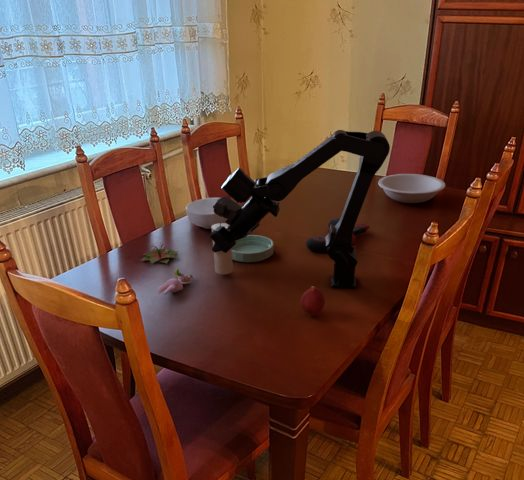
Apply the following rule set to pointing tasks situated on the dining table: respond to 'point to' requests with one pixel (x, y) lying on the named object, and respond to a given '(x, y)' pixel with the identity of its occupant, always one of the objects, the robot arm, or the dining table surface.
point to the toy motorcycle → (320, 242)
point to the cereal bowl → (204, 213)
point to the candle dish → (252, 248)
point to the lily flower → (159, 255)
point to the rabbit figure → (175, 283)
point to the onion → (312, 301)
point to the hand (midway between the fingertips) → (218, 247)
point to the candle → (222, 256)
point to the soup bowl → (411, 187)
